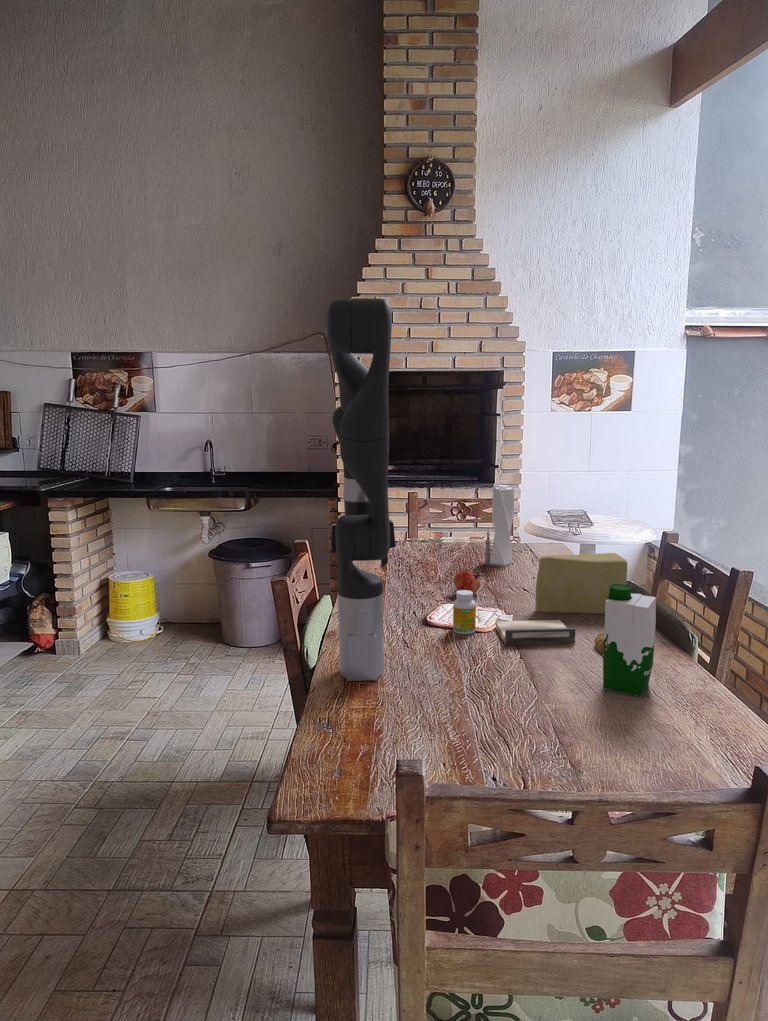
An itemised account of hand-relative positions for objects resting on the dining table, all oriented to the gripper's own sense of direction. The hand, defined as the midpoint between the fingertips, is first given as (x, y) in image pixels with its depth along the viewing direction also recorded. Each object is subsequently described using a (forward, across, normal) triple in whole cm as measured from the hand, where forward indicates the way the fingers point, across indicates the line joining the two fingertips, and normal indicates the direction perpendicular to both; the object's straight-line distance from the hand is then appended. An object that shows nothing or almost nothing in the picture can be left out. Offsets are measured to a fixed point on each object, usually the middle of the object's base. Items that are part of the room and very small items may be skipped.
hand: (364, 567), depth 155 cm
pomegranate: (+21, +31, +34) cm, 51 cm away
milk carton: (+19, +48, -29) cm, 60 cm away
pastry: (+20, +54, -12) cm, 59 cm away
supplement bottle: (+20, +24, +6) cm, 32 cm away
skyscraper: (+23, +51, +67) cm, 87 cm away
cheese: (+21, +57, +16) cm, 63 cm away
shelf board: (+20, +40, 0) cm, 44 cm away
